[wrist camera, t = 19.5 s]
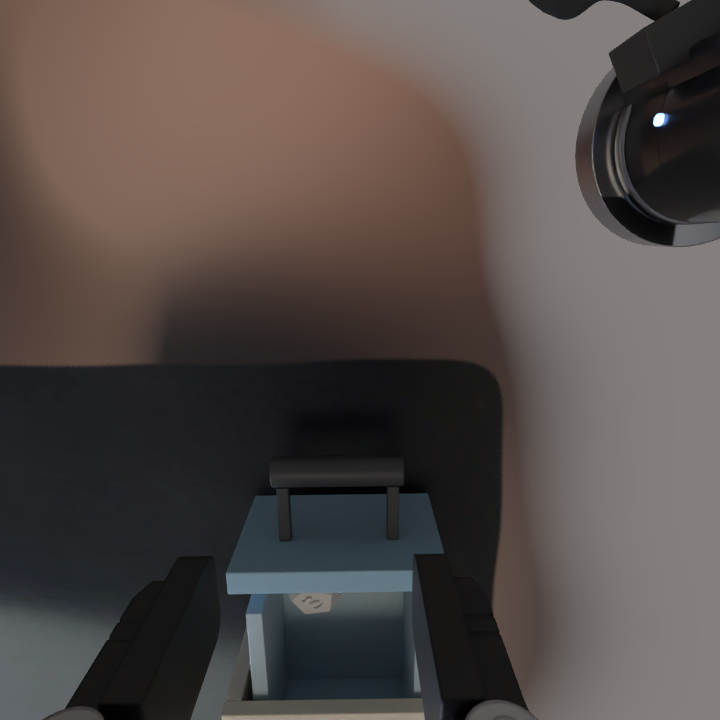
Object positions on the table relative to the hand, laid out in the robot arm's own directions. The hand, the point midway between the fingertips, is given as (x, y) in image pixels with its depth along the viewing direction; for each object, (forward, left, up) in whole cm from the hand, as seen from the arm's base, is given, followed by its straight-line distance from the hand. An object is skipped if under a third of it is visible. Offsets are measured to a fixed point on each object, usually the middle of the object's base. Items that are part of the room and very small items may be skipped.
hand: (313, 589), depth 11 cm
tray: (+10, -6, -16) cm, 20 cm away
